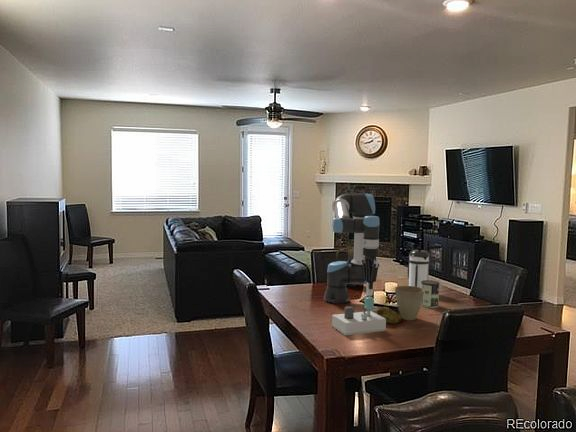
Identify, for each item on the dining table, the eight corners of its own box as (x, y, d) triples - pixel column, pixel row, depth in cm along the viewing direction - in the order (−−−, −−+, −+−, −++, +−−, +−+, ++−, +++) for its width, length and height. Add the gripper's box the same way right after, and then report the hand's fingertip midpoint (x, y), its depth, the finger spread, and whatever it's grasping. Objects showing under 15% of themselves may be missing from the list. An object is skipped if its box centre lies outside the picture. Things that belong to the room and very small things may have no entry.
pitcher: (359, 288, 323) (360, 243, 320) (332, 284, 331) (333, 241, 329) (364, 285, 332) (365, 241, 330) (338, 281, 341) (339, 239, 338)
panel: (332, 326, 239) (332, 314, 238) (370, 322, 247) (371, 311, 246) (345, 335, 226) (345, 323, 225) (385, 330, 234) (386, 318, 233)
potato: (401, 326, 242) (402, 310, 241) (375, 323, 245) (376, 308, 244) (402, 321, 250) (402, 306, 249) (377, 319, 253) (377, 304, 252)
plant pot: (388, 316, 259) (389, 286, 257) (411, 313, 265) (412, 284, 263) (405, 324, 245) (406, 293, 244) (429, 321, 251) (430, 291, 250)
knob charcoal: (342, 326, 235) (343, 306, 235) (350, 326, 237) (351, 306, 236) (346, 329, 231) (347, 309, 231) (354, 328, 233) (355, 308, 232)
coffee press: (433, 290, 318) (434, 246, 316) (425, 295, 305) (427, 248, 302) (407, 287, 327) (409, 243, 325) (399, 291, 314) (401, 246, 311)
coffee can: (437, 304, 285) (438, 280, 284) (439, 308, 275) (440, 284, 274) (419, 302, 287) (420, 279, 286) (420, 307, 277) (421, 283, 276)
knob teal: (362, 316, 239) (363, 297, 238) (370, 316, 241) (370, 296, 240) (367, 319, 235) (367, 299, 234) (374, 318, 237) (375, 298, 236)
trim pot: (360, 319, 232) (360, 311, 232) (365, 318, 233) (365, 311, 233) (363, 320, 229) (363, 313, 229) (367, 320, 230) (368, 312, 230)
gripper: (357, 246, 240) (356, 292, 241) (371, 249, 227) (369, 298, 229) (370, 245, 242) (369, 291, 244) (384, 249, 230) (383, 297, 232)
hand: (369, 295), depth 237 cm, fingers closed
